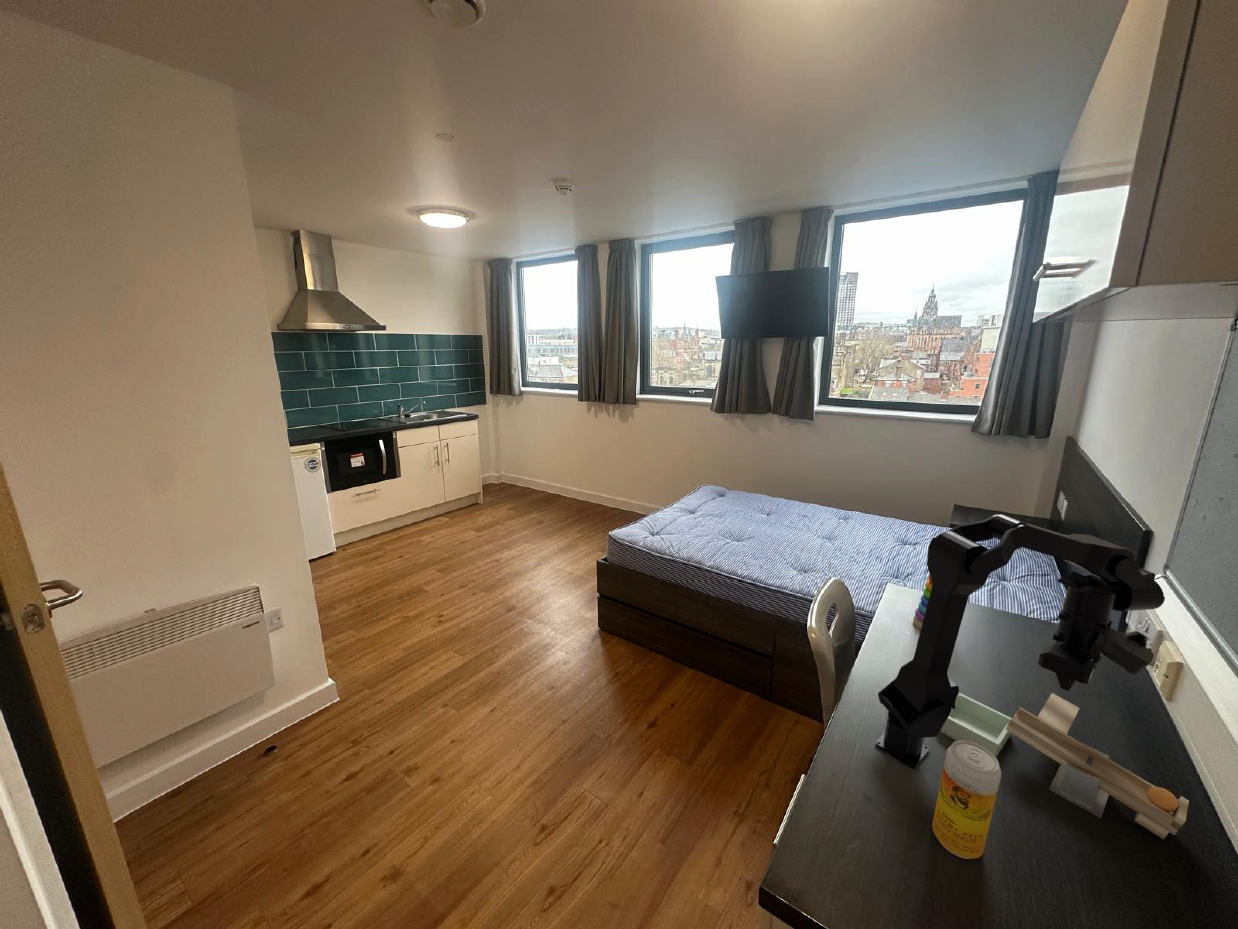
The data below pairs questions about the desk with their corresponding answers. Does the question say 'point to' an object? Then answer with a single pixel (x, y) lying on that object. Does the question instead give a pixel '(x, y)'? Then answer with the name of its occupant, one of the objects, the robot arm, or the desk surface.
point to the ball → (1162, 799)
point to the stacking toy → (923, 604)
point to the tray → (977, 724)
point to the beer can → (966, 799)
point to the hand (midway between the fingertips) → (1065, 689)
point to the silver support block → (1080, 788)
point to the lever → (1093, 763)
